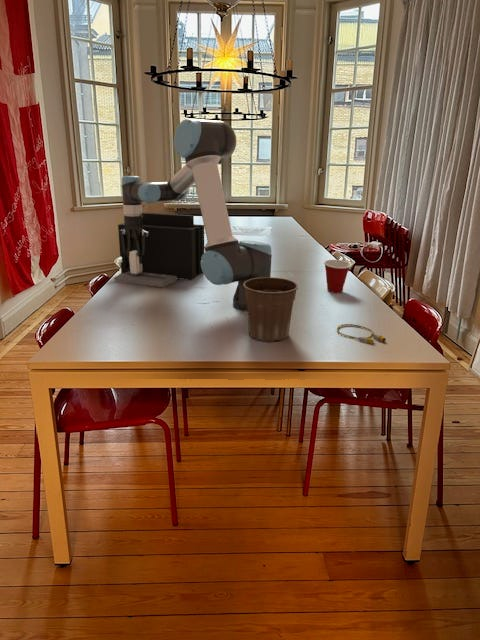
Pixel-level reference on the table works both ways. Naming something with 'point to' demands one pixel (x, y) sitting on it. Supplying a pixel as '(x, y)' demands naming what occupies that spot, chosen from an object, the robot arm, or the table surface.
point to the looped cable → (364, 339)
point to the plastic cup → (336, 274)
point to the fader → (134, 263)
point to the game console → (169, 245)
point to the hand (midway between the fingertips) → (136, 270)
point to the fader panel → (146, 279)
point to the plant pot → (269, 307)
